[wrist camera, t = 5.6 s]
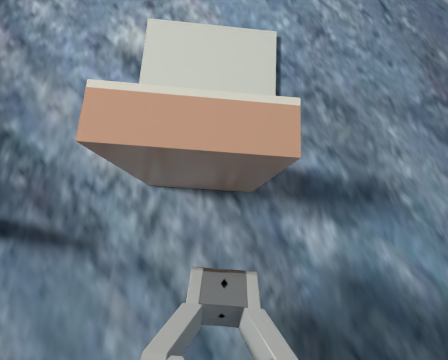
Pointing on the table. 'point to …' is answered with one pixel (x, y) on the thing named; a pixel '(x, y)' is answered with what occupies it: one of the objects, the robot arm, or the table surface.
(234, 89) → the mat
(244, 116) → the tile
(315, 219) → the table surface
